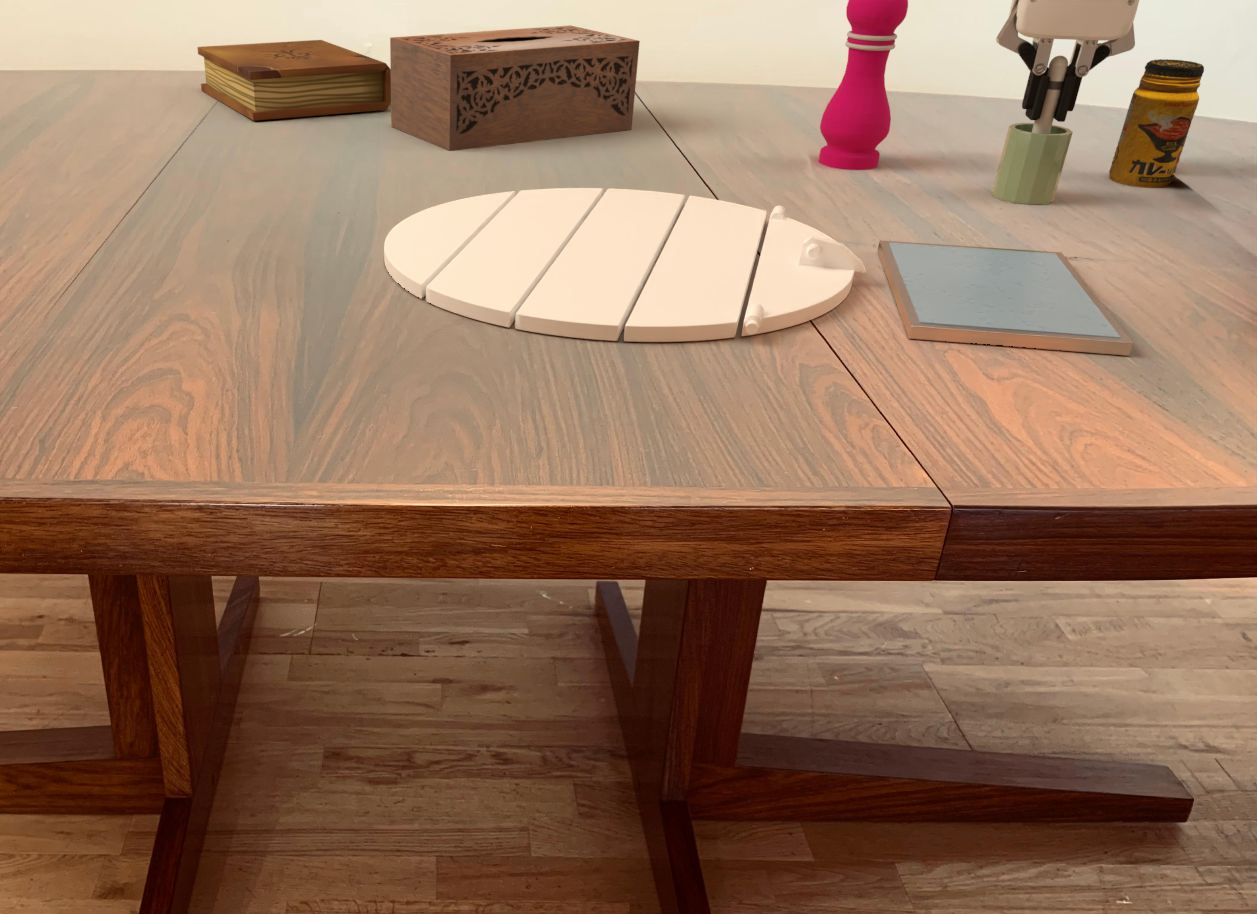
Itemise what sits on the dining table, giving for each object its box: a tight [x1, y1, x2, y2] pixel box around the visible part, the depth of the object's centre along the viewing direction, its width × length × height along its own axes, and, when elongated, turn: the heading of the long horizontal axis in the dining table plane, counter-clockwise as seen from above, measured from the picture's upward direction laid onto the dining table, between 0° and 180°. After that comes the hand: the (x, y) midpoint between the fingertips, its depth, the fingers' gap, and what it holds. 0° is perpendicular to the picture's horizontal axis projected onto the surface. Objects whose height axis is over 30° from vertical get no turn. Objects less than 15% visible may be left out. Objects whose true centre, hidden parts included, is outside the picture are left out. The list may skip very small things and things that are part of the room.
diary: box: [197, 39, 391, 121], centre depth 158 cm, size 23×19×6 cm
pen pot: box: [991, 122, 1073, 206], centre depth 118 cm, size 6×6×7 cm
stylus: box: [1032, 55, 1069, 134], centre depth 116 cm, size 2×2×13 cm
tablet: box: [877, 240, 1134, 357], centre depth 94 cm, size 15×22×1 cm
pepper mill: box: [818, 0, 909, 171], centre depth 126 cm, size 7×7×20 cm
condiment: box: [1108, 58, 1205, 189], centre depth 124 cm, size 7×8×12 cm
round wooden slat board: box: [383, 187, 867, 343], centre depth 101 cm, size 40×39×3 cm
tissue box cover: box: [389, 24, 641, 151], centre depth 144 cm, size 26×14×10 cm, turn 119°
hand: (1044, 117), depth 115 cm, fingers closed on stylus, 1 cm apart
